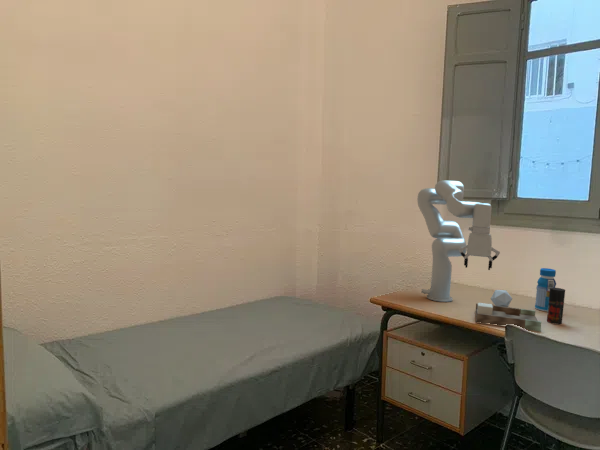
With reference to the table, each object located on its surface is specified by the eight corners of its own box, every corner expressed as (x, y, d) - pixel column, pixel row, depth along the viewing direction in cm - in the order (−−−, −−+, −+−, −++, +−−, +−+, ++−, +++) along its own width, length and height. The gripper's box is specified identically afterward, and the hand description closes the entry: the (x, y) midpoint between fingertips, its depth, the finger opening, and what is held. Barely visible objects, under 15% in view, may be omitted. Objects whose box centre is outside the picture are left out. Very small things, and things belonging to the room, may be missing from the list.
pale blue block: (477, 314, 210) (478, 305, 210) (477, 311, 216) (477, 302, 215) (492, 316, 208) (492, 307, 208) (491, 312, 214) (492, 304, 213)
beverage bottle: (532, 309, 231) (536, 269, 229) (536, 306, 238) (540, 266, 236) (552, 313, 226) (556, 271, 224) (555, 309, 233) (559, 269, 231)
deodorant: (543, 319, 214) (547, 287, 212) (556, 320, 214) (559, 287, 213) (551, 324, 208) (555, 290, 206) (564, 324, 208) (568, 290, 207)
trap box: (476, 322, 204) (477, 313, 204) (475, 311, 222) (476, 303, 222) (540, 331, 196) (541, 322, 196) (534, 319, 214) (535, 310, 214)
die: (508, 311, 228) (518, 294, 230) (492, 301, 229) (501, 284, 231) (500, 313, 236) (510, 296, 238) (485, 303, 237) (494, 286, 239)
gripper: (459, 229, 212) (456, 267, 214) (501, 233, 206) (498, 272, 207) (461, 228, 219) (458, 265, 221) (501, 231, 213) (498, 269, 214)
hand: (477, 268), depth 214 cm, fingers open, 9 cm apart
